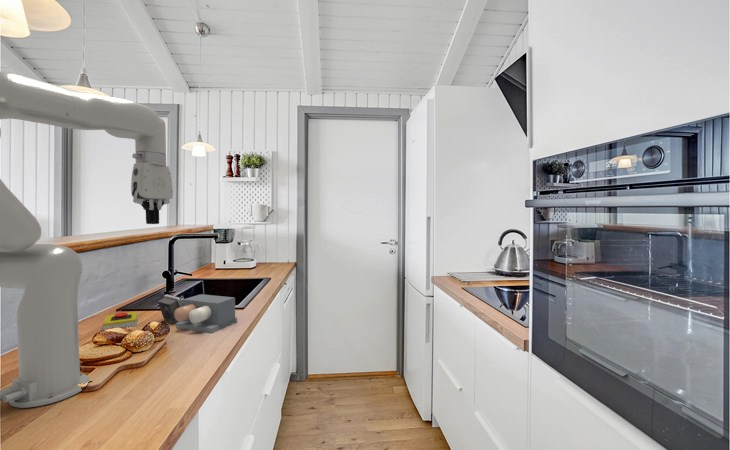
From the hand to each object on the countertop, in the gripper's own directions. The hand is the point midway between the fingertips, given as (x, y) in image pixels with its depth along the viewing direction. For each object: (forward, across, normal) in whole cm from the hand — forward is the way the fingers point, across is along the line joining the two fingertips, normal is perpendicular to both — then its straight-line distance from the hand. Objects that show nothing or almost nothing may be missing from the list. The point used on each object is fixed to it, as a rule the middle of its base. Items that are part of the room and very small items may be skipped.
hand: (152, 223), depth 100 cm
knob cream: (+32, +15, -5) cm, 36 cm away
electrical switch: (+35, +17, +12) cm, 41 cm away
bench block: (+35, +18, -2) cm, 39 cm away
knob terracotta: (+32, +15, +1) cm, 35 cm away
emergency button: (+36, +9, +26) cm, 45 cm away
